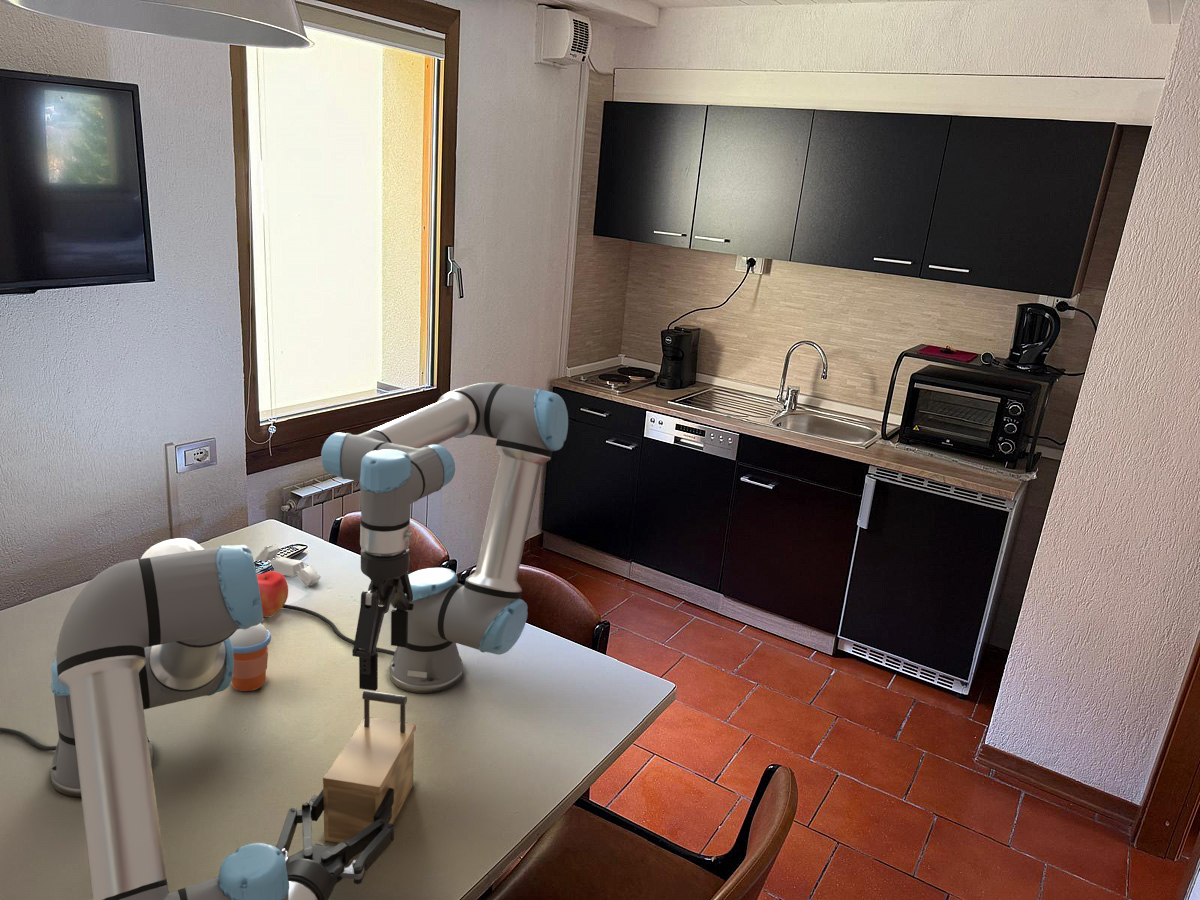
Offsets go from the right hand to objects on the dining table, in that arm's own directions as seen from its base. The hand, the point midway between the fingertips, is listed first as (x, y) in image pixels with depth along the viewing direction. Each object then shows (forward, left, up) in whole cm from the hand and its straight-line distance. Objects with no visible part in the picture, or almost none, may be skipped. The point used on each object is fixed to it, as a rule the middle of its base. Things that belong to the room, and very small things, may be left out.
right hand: (384, 666), depth 141 cm
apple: (-62, +31, -24) cm, 74 cm away
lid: (+2, -5, -13) cm, 14 cm away
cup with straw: (-43, +9, -24) cm, 50 cm away
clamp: (-74, +49, -24) cm, 91 cm away
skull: (-81, +24, -24) cm, 88 cm away
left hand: (+3, -9, -17) cm, 19 cm away
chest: (+2, -6, -24) cm, 25 cm away
